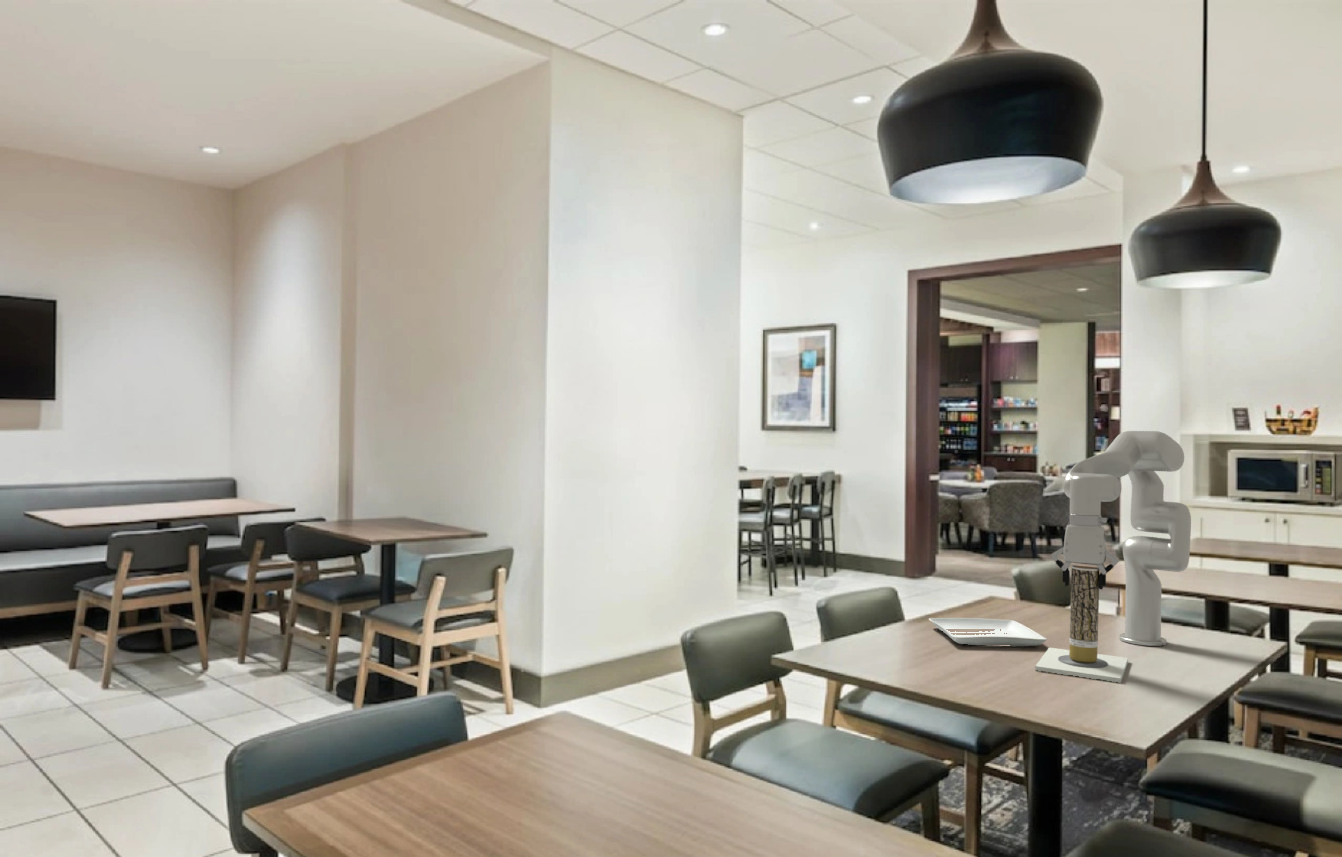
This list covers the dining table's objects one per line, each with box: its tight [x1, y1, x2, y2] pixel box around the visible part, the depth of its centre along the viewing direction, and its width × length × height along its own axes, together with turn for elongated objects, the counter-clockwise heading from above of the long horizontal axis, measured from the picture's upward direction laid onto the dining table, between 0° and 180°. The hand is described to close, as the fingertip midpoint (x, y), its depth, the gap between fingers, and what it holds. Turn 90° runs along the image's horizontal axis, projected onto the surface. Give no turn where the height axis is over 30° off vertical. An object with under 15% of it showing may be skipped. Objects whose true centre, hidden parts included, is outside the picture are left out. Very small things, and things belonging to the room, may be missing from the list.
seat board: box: [1034, 647, 1129, 684], centre depth 236 cm, size 24×20×2 cm
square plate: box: [928, 617, 1048, 647], centre depth 267 cm, size 27×27×4 cm
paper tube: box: [1068, 564, 1101, 663], centre depth 236 cm, size 7×7×25 cm
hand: (1083, 586), depth 236 cm, fingers open, 7 cm apart
